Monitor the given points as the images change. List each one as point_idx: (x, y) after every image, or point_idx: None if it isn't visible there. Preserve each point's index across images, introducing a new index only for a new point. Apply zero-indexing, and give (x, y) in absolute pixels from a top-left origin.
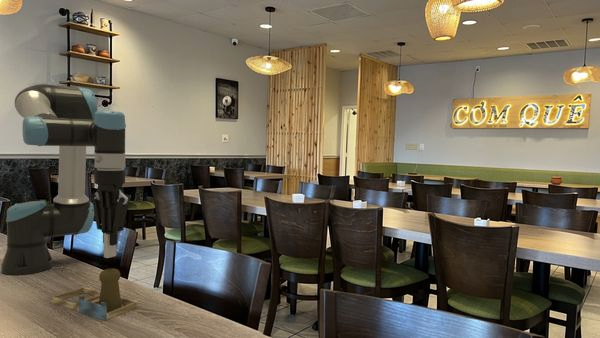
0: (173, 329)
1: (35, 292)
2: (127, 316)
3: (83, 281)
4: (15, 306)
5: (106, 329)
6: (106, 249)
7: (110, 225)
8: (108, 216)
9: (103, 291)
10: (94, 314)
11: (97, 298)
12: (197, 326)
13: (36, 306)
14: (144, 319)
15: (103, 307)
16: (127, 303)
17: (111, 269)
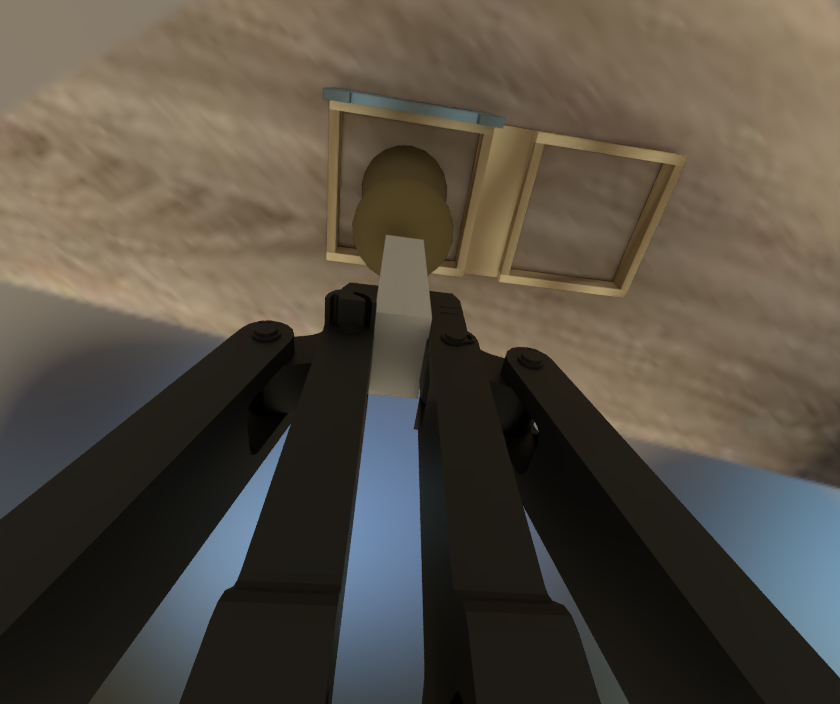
0: (44, 131)
1: (800, 216)
2: (293, 164)
3: (677, 362)
4: (804, 53)
5: (255, 10)
6: (396, 257)
7: (321, 365)
8: (343, 452)
9: (404, 173)
10: (397, 98)
11: (506, 240)
12: (5, 191)
13: (710, 94)
14: (215, 166)
15: (335, 89)
16: None
17: None
